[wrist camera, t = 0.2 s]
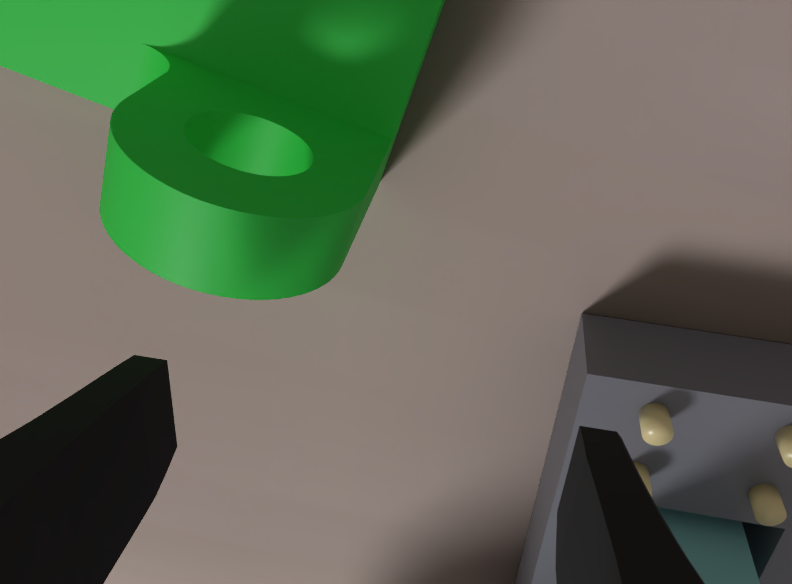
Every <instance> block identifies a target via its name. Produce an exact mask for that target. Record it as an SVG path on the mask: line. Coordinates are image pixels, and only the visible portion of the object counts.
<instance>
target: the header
mask: <svg viewBox="0 0 792 584" xmlns="http://www.w3.org/2000/svg"><path fill="white" fill-rule="evenodd" d="M579 426H585V427H591V428H597V429H604V430H610V431H616V432H618V434H619V435H620V436H621V438H622V440H623V442H624V444H625V446H626V448H627V450H628V452H629V454H630V456H631V458H632V460H633V462H634V464H635V467H636V468H637V470H638V472H639V474H640V476H641V478H642V480H643V482H644V484H645V486H646V488H647V490H648V491H649V493H650V495H651V497H652V499H653V501H654V502H655V504H656V506H657V507H660V508H666V509H672V510H678V511H684V512H689V513H695V514H701V515H707V516H713V517H718V518H724V519H730V520H736V521H742V524H743V528H744V531H745V535H746V538H747V541H748V545H749V548H750V552H751V555H752V558H753V562H754V565H755V569H756V572H757V575H758V579H759V582H760V584H792V345H791V344H785V343H778V342H771V341H765V340H758V339H751V338H744V337H738V336H731V335H724V334H717V333H711V332H704V331H697V330H691V329H684V328H677V327H670V326H664V325H657V324H650V323H644V322H637V321H630V320H623V319H617V318H610V317H603V316H596V315H590V314H583V313H582V315H581V319H580V323H579V327H578V331H577V335H576V339H575V343H574V347H573V351H572V355H571V359H570V363H569V367H568V371H567V375H566V379H565V383H564V387H563V391H562V395H561V399H560V403H559V408H558V412H557V416H556V420H555V424H554V428H553V432H552V436H551V440H550V444H549V448H548V452H547V456H546V460H545V464H544V468H543V472H542V476H541V480H540V484H539V488H538V492H537V496H536V500H535V504H534V508H533V512H532V516H531V520H530V525H529V529H528V533H527V537H526V541H525V545H524V549H523V553H522V557H521V561H520V565H519V569H518V573H517V577H516V581H515V584H557V581H556V530H557V510H558V506H559V502H560V499H561V495H562V491H563V487H564V483H565V479H566V476H567V472H568V468H569V464H570V460H571V457H572V453H573V449H574V445H575V441H576V437H577V434H578V430H579Z"/></svg>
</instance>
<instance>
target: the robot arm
mask: <svg viewBox="0 0 792 584" xmlns="http://www.w3.org/2000/svg"><path fill="white" fill-rule="evenodd" d="M176 448H177V441H176V432H175V424H174V416H173V407H172V399H171V390H170V382H169V373H168V365H167V360H162V359H156V358H149V357H143V356H137V355H134V356H132V357H130V358H129V359H127V360H125V361H124V362H122V363H121V364H119V365H117V366H116V367H114V368H113V369H111V370H110V371H108V372H107V373H105V374H104V375H102V376H100V377H99V378H97V379H96V380H94V381H93V382H91V383H90V384H88V385H87V386H85V387H84V388H82V389H81V390H79V391H78V392H76V393H75V394H73V395H71V396H70V397H68V398H67V399H65V400H64V401H62V402H60V403H59V404H57V405H56V406H54V407H53V408H51V409H49V410H48V411H46V412H45V413H43V414H42V415H40V416H38V417H37V418H35V419H34V420H32V421H30V422H29V423H27V424H25V425H24V426H22V427H20V428H18V429H17V430H15V431H13V432H12V433H10V434H8V435H6V436H5V437H3V438H1V439H0V584H103V583H104V582H105V580H106V578H107V577H108V575H109V573H110V572H111V570H112V568H113V567H114V565H115V563H116V562H117V560H118V558H119V557H120V555H121V554H122V552H123V550H124V549H125V547H126V545H127V544H128V542H129V540H130V539H131V537H132V535H133V534H134V532H135V530H136V529H137V527H138V525H139V524H140V522H141V520H142V519H143V517H144V515H145V514H146V512H147V510H148V509H149V507H150V505H151V503H152V502H153V500H154V498H155V496H156V494H157V492H158V490H159V488H160V485H161V483H162V481H163V479H164V477H165V474H166V472H167V470H168V467H169V465H170V462H171V460H172V458H173V455H174V453H175V450H176ZM556 581H557V584H705V583H704V582H703V580H702V579H701V577H700V576H699V574H698V573H697V571H696V570H695V568H694V567H693V565H692V564H691V562H690V561H689V559H688V558H687V556H686V555H685V553H684V551H683V550H682V548H681V547H680V545H679V543H678V542H677V540H676V538H675V537H674V535H673V533H672V532H671V530H670V528H669V527H668V525H667V523H666V521H665V520H664V518H663V516H662V515H661V513H660V511H659V510H658V508H657V506H656V504H655V502H654V501H653V499H652V497H651V495H650V493H649V491H648V490H647V488H646V486H645V484H644V482H643V480H642V478H641V476H640V474H639V472H638V470H637V468H636V467H635V464H634V462H633V460H632V458H631V456H630V454H629V452H628V450H627V448H626V446H625V444H624V442H623V440H622V438H621V436H620V435H619V434H618V432H616V431H610V430H604V429H597V428H591V427H585V426H579V430H578V434H577V437H576V441H575V445H574V449H573V453H572V457H571V460H570V464H569V468H568V472H567V476H566V479H565V483H564V487H563V491H562V495H561V499H560V502H559V506H558V510H557V530H556Z"/></svg>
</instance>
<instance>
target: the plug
mask: <svg viewBox="0 0 792 584" xmlns="http://www.w3.org/2000/svg"><path fill="white" fill-rule="evenodd" d="M657 508H658V510H659V511H660V513H661V515H662V516H663V518H664V520H665V521H666V523H667V525H668V527H669V528H670V530H671V532H672V533H673V535H674V537H675V538H676V540H677V542H678V543H679V545H680V547H681V548H682V550H683V551H684V553H685V555H686V556H687V558H688V559H689V561H690V562H691V564H692V565H693V567H694V568H695V570H696V571H697V573H698V574H699V576H700V577H701V579H702V580H703V582H704V583H705V584H760V582H759V579H758V575H757V572H756V569H755V565H754V562H753V558H752V555H751V552H750V548H749V545H748V541H747V538H746V535H745V531H744V528H743V524H742V521H736V520H730V519H724V518H718V517H713V516H707V515H701V514H695V513H689V512H684V511H678V510H672V509H666V508H660V507H657Z"/></svg>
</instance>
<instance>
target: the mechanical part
mask: <svg viewBox="0 0 792 584" xmlns="http://www.w3.org/2000/svg"><path fill="white" fill-rule="evenodd" d="M444 2H445V0H0V66H2V67H5V68H8V69H10V70H13V71H15V72H18V73H21V74H23V75H26V76H29V77H31V78H34V79H36V80H39V81H42V82H44V83H47V84H49V85H52V86H55V87H57V88H60V89H62V90H65V91H68V92H70V93H73V94H75V95H78V96H81V97H83V98H86V99H88V100H91V101H94V102H96V103H99V104H101V105H104V106H107V107H109V108H112V109H114V111H113V113H112V116H111V120H110V128H109V136H108V144H107V152H106V160H105V168H104V176H103V184H102V192H101V200H100V215H101V220H102V223H103V225H104V228H105V229H106V231H107V233H108V235H109V236H110V237H111V239H112V240H113V241H114V243H115V244H116V245H117V246H118V247H119V248H120V249H121V250H122V251H123V252H124V253H125V254H126V255H128V256H129V257H130V258H131V259H132V260H134V261H135V262H137V263H138V264H139V265H141V266H142V267H144V268H146V269H147V270H149V271H151V272H152V273H154V274H156V275H158V276H160V277H162V278H164V279H166V280H168V281H170V282H173V283H175V284H178V285H180V286H183V287H186V288H189V289H192V290H196V291H200V292H203V293H207V294H212V295H217V296H222V297H229V298H236V299H249V300H269V299H281V298H288V297H293V296H297V295H302V294H305V293H308V292H311V291H313V290H315V289H317V288H319V287H321V286H323V285H324V284H326V283H328V282H329V281H330V280H331V279H332V278H333V277H334V276H335V275H336V274H337V273H338V272H339V270H340V268H341V266H342V264H343V262H344V260H345V258H346V256H347V253H348V251H349V249H350V247H351V245H352V242H353V240H354V238H355V236H356V234H357V231H358V229H359V227H360V225H361V223H362V220H363V218H364V216H365V214H366V212H367V209H368V207H369V205H370V203H371V201H372V198H373V196H374V194H375V192H376V190H377V188H378V185H379V183H380V181H381V178H382V175H383V173H384V170H385V167H386V164H387V161H388V159H389V156H390V153H391V150H392V147H393V145H394V142H395V139H396V136H397V134H398V131H399V128H400V125H401V122H402V120H403V117H404V114H405V111H406V108H407V106H408V103H409V100H410V97H411V94H412V92H413V89H414V86H415V83H416V81H417V78H418V75H419V72H420V69H421V67H422V64H423V61H424V58H425V55H426V53H427V50H428V47H429V44H430V41H431V39H432V36H433V33H434V30H435V27H436V25H437V22H438V19H439V16H440V14H441V11H442V8H443V5H444Z"/></svg>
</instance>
